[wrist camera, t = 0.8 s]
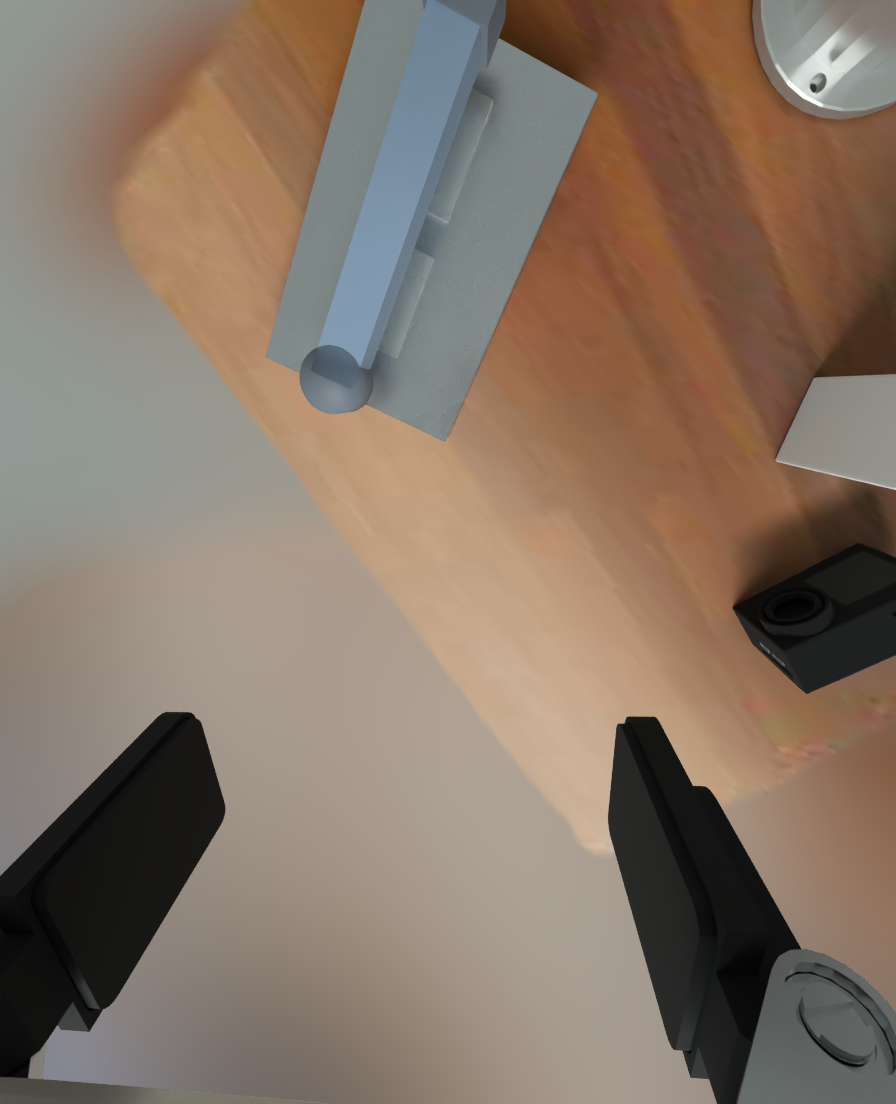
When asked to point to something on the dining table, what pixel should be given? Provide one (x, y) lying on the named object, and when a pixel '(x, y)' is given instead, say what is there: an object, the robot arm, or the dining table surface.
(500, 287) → the plate
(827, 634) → the digital camera
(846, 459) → the milk
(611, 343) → the dining table surface
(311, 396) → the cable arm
